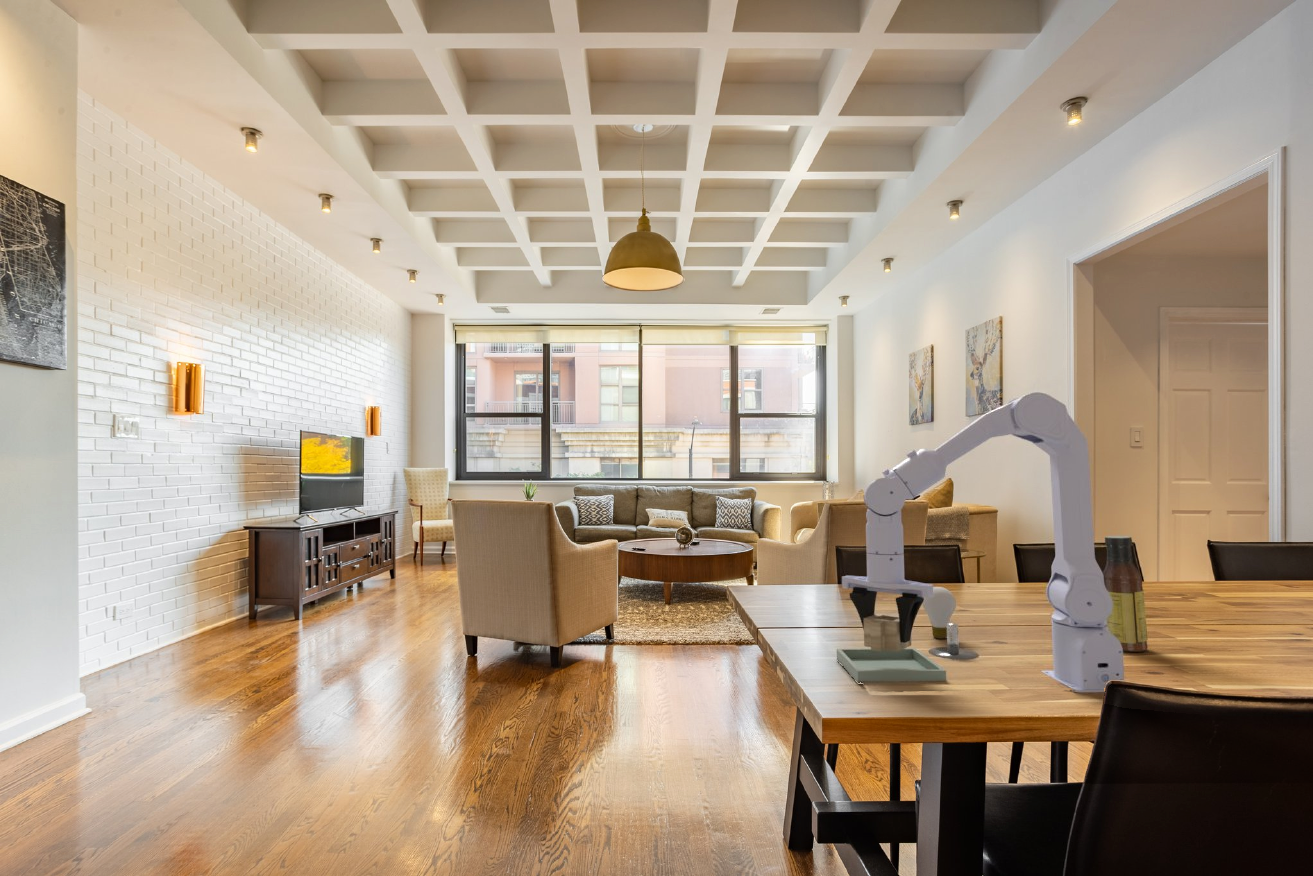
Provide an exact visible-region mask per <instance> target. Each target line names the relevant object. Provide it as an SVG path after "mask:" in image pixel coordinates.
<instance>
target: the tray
mask: <svg viewBox="0 0 1313 876" xmlns="http://www.w3.org/2000/svg"><path fill="white" fill-rule="evenodd" d="M837 660H838V661H839V662H840V663H841V664H842V665H843V666H844V668H845V669H846V670H847V671H848V672H849V673H850V675H852V677H853V678H854V679H855V680H856V681H857V682H858V683H860V682H861V683H865V682H868V683H869V682H878V683H879V682H882V683H884V682H947V670H946V669H945V668H943V667H942V666H940V665H939V664H938V663H937V662H935V661H934V660H932V659H931V658H929V657H928V656H926V655H925V654H924V653H922V652H921V651H920V650H919V649H917V648H916V647H914V648H913V647H912V648H911V647H910V648H909V647H907V648H904V649H902V650H900V651H898V652H895V651H889V650H883V651H881V652H880V651H874V650H871V648H836V661H837ZM838 661H837V662H838ZM844 668H843V669H844ZM845 669H844V670H845ZM846 670H845V671H846ZM850 675H849V676H850ZM852 677H851V678H852ZM853 678H852V679H853ZM854 679H853V680H854Z"/></svg>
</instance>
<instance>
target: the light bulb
mask: <svg viewBox="0 0 1313 876" xmlns="http://www.w3.org/2000/svg"><path fill="white" fill-rule="evenodd" d="M956 607H957V602H956V598H955V596H954V595H953V593H952V592H951V591H950V590H948V589H947V588H945V587H943V586H933V597H931V598H924V601H923V603H922V608H923V609H924V611H925V614H927V617H928V620H929V623H930V625H931V630H932V631H931V632H932V636H933V638H935V639H936V640H938V639H939V640H945V639H946V638H947V623H950V621H951V617H952V615H953V614H954V612H955V611H956V609H957V608H956Z"/></svg>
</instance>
